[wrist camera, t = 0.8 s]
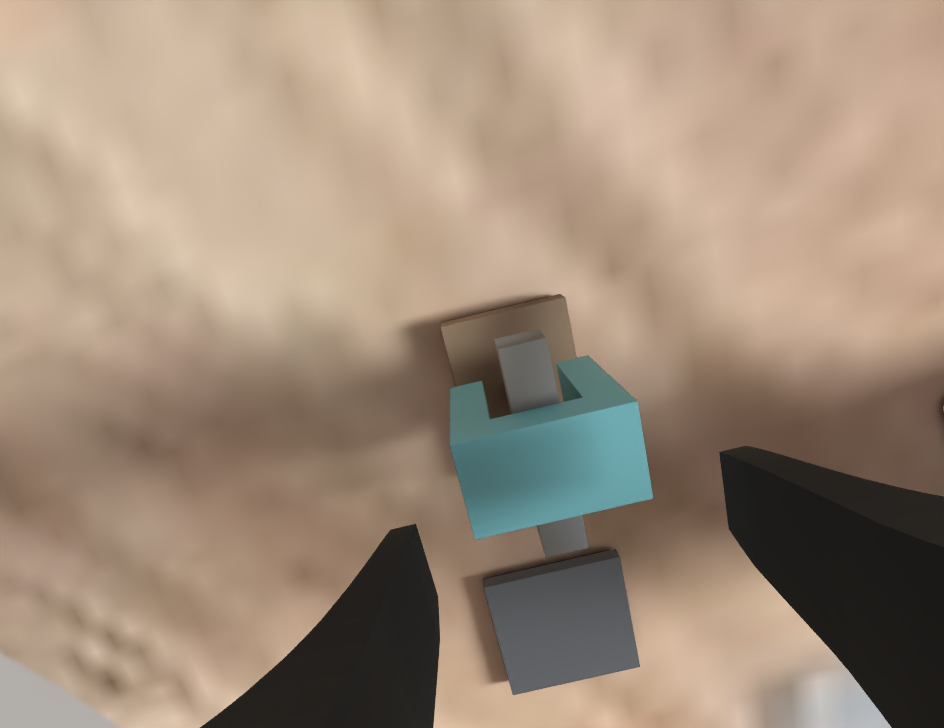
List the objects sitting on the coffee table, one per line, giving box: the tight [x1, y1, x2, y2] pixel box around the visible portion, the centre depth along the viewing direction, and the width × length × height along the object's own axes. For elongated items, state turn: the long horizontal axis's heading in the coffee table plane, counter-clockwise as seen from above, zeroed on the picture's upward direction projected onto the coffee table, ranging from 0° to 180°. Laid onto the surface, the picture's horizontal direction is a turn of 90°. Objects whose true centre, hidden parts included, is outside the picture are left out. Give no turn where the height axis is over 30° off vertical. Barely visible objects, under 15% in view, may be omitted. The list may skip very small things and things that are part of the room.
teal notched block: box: [450, 355, 653, 540], centre depth 17 cm, size 5×3×5 cm, turn 104°
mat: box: [483, 549, 640, 695], centre depth 25 cm, size 6×6×1 cm
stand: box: [441, 294, 589, 558], centre depth 19 cm, size 5×7×7 cm
